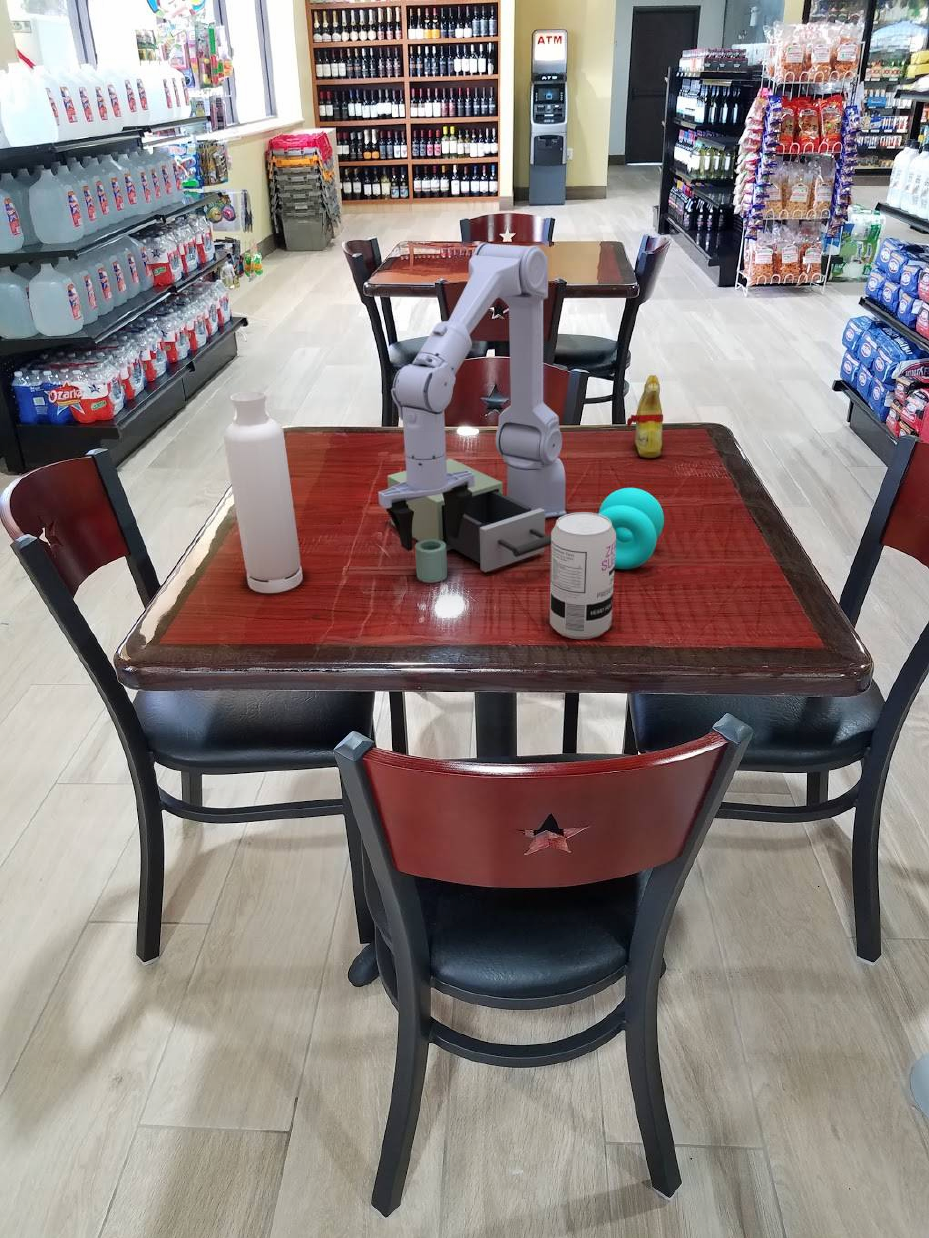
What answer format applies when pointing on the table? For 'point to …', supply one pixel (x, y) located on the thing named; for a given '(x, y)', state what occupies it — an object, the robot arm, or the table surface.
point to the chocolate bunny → (649, 420)
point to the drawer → (498, 531)
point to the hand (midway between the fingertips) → (430, 541)
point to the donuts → (633, 525)
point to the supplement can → (582, 575)
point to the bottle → (262, 495)
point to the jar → (431, 560)
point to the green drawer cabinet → (440, 502)
